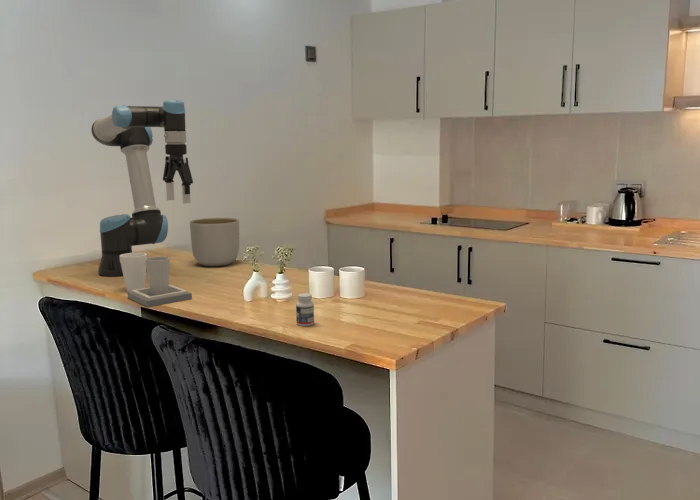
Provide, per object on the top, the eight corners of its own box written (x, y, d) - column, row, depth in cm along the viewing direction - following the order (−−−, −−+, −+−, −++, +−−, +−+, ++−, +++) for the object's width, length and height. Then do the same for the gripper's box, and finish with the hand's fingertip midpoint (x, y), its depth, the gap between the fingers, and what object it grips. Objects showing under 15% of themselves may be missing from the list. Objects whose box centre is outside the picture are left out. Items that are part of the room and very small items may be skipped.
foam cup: (151, 290, 235) (149, 255, 233) (125, 294, 231) (123, 258, 229) (145, 285, 243) (143, 251, 241) (119, 289, 239) (117, 254, 237)
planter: (235, 268, 273) (234, 223, 270) (186, 269, 274) (184, 224, 270) (244, 259, 294) (242, 217, 291) (198, 259, 294) (196, 217, 291)
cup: (164, 296, 219) (162, 261, 217) (142, 295, 221) (140, 260, 219) (175, 290, 227) (173, 256, 225) (154, 289, 229) (152, 256, 227)
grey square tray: (127, 298, 225) (127, 290, 225) (171, 290, 235) (170, 283, 235) (147, 307, 213) (146, 298, 213) (191, 298, 223) (191, 290, 223)
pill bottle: (296, 321, 196) (295, 292, 194) (313, 321, 196) (313, 292, 194) (296, 326, 190) (295, 297, 189) (314, 326, 191) (313, 296, 189)
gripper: (151, 143, 245) (155, 199, 249) (181, 144, 226) (184, 205, 230) (170, 142, 249) (173, 198, 253) (200, 144, 230) (203, 203, 234)
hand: (178, 201), depth 242 cm, fingers open, 13 cm apart
